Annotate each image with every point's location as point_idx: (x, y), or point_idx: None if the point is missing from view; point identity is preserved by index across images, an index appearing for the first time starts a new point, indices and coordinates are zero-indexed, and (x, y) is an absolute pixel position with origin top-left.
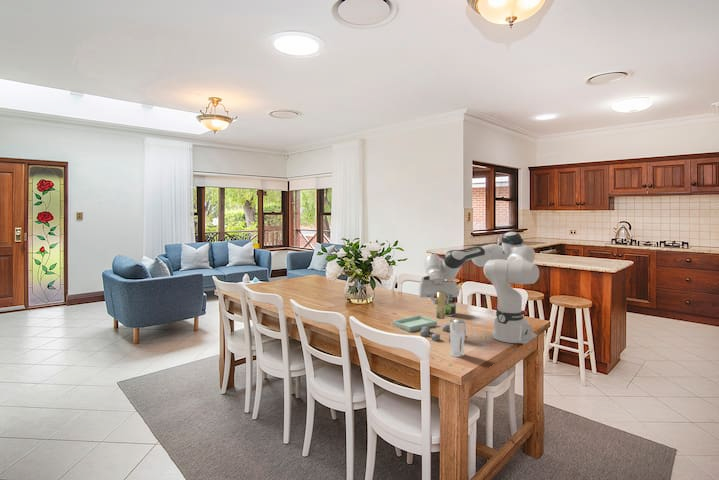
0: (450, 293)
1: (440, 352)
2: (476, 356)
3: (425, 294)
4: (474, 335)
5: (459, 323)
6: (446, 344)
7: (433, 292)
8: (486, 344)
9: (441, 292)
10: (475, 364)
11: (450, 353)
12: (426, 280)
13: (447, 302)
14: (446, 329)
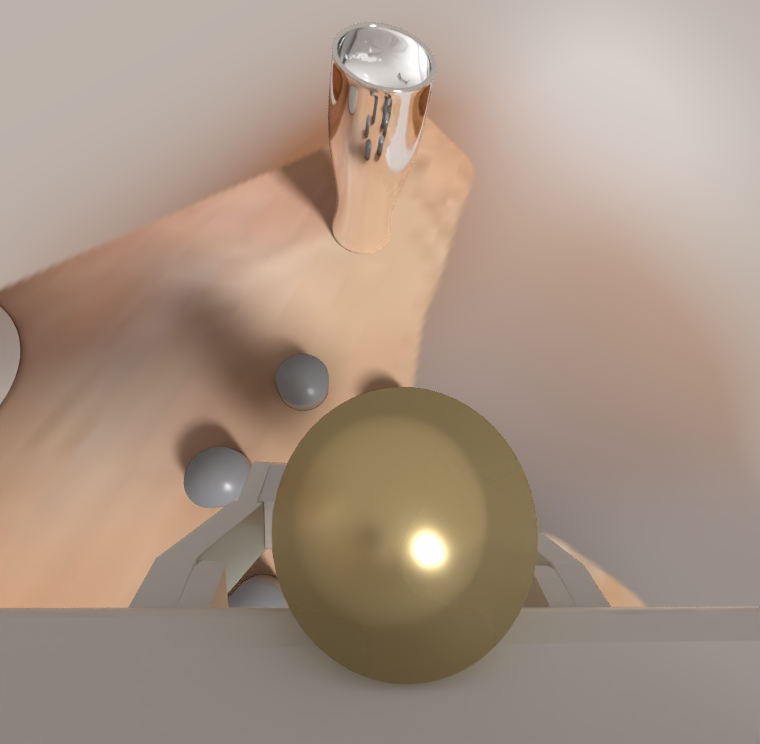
0: (62, 611)
1: (423, 263)
2: (287, 199)
3: (751, 610)
4: (109, 465)
5: (390, 25)
6: (364, 344)
7: (604, 650)
8: (143, 307)
9: (401, 514)
10: (329, 147)
11: (391, 229)
12: None
13: (275, 462)
14: (269, 580)
